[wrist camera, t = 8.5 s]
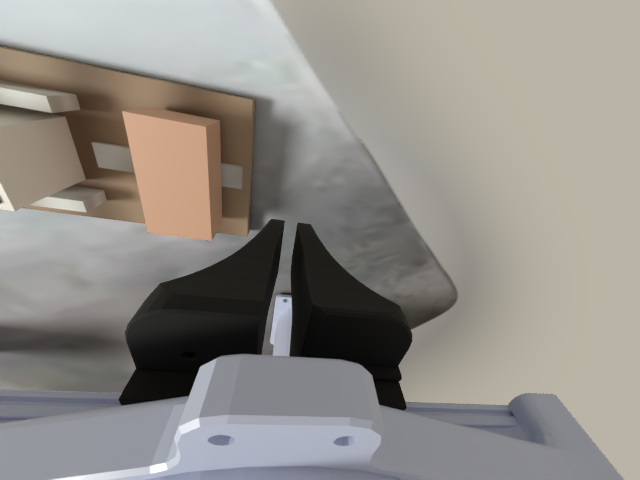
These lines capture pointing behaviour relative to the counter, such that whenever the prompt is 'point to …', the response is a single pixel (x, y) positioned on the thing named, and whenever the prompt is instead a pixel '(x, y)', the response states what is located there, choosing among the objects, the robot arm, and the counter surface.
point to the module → (35, 157)
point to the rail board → (111, 137)
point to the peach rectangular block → (177, 171)
